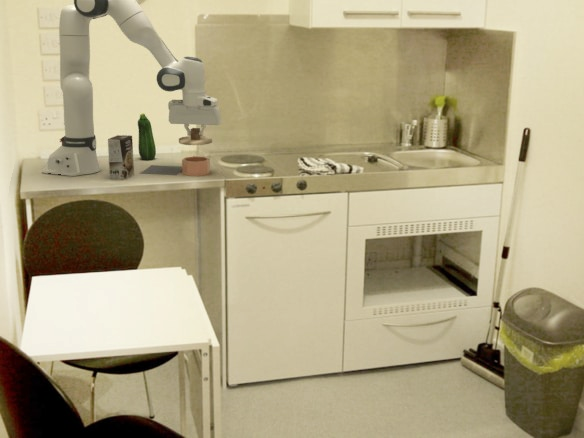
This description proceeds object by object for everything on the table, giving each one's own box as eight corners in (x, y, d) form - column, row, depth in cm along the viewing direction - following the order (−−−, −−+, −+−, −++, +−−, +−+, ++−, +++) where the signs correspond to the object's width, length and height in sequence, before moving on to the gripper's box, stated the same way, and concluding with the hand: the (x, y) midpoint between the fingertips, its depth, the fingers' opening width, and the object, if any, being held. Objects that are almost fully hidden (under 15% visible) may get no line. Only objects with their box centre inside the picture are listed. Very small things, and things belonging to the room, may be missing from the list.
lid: (174, 144, 287) (174, 131, 286) (184, 138, 300) (183, 125, 298) (207, 145, 285) (207, 132, 284) (215, 139, 298) (215, 126, 296)
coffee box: (125, 181, 283) (123, 139, 279) (109, 180, 285) (106, 138, 280) (135, 176, 292) (132, 135, 287) (119, 175, 293) (117, 134, 288)
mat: (139, 174, 294) (139, 173, 294) (151, 166, 308) (151, 165, 308) (176, 176, 292) (176, 175, 292) (187, 168, 306) (186, 166, 306)
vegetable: (159, 160, 320) (157, 113, 314) (145, 162, 315) (143, 115, 309) (149, 157, 325) (147, 111, 319) (135, 160, 320) (133, 113, 314)
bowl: (180, 176, 292) (179, 161, 290) (187, 170, 302) (187, 156, 300) (205, 177, 291) (205, 162, 289) (211, 171, 300) (211, 157, 298)
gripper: (165, 100, 286) (167, 136, 290) (217, 101, 283) (218, 137, 287) (170, 98, 292) (171, 133, 296) (221, 99, 289) (222, 135, 293)
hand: (195, 135), depth 292 cm, fingers closed on lid, 3 cm apart
